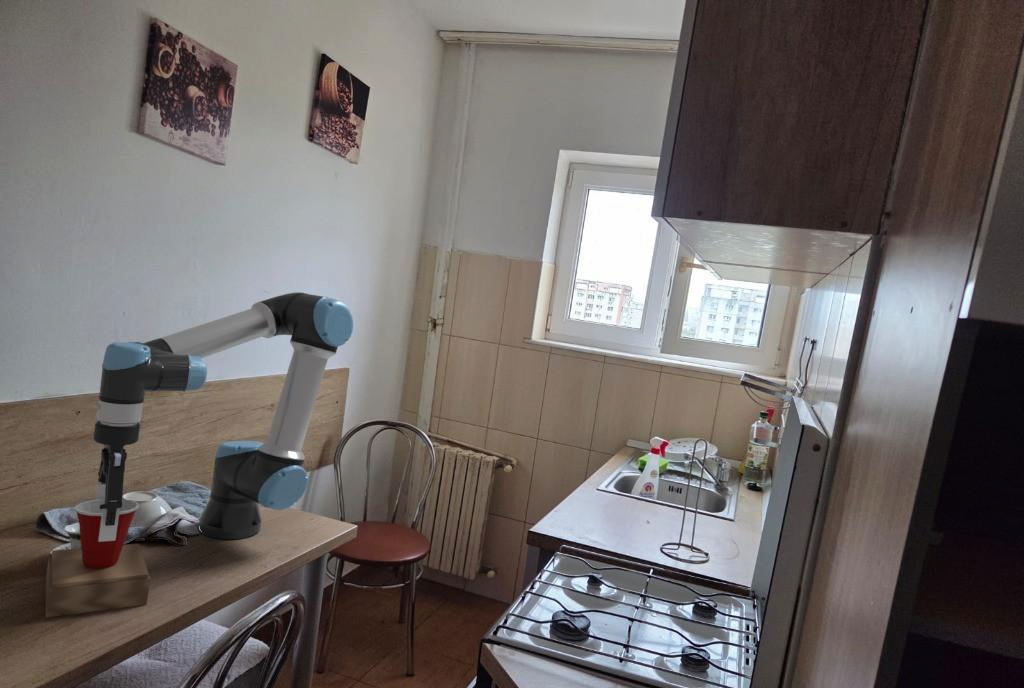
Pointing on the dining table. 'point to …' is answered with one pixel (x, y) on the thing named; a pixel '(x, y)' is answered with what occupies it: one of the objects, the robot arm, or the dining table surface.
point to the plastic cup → (90, 520)
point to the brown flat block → (95, 582)
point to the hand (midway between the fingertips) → (104, 527)
